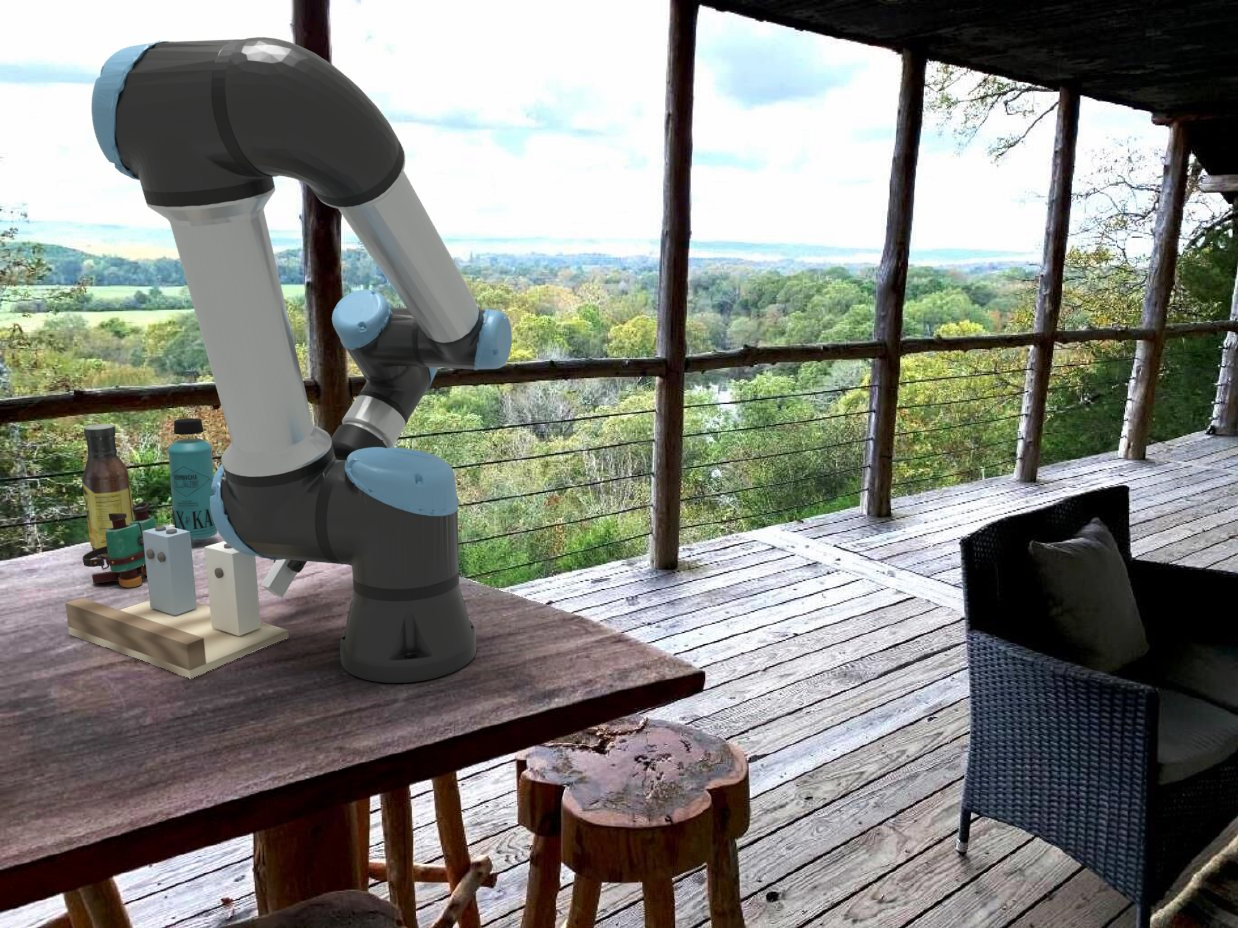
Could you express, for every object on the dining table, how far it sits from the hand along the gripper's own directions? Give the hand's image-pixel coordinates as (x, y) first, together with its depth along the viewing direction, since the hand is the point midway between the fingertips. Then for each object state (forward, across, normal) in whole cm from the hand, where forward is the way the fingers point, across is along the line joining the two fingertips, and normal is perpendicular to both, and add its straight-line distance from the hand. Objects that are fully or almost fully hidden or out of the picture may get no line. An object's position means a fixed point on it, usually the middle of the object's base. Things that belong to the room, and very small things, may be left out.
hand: (271, 591), depth 112 cm
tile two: (+6, +12, +2) cm, 14 cm away
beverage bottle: (-8, +37, -14) cm, 40 cm away
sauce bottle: (-1, +43, -7) cm, 44 cm away
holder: (+9, +6, +3) cm, 11 cm away
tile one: (+6, 0, +2) cm, 6 cm away
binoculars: (+3, +31, -3) cm, 31 cm away
